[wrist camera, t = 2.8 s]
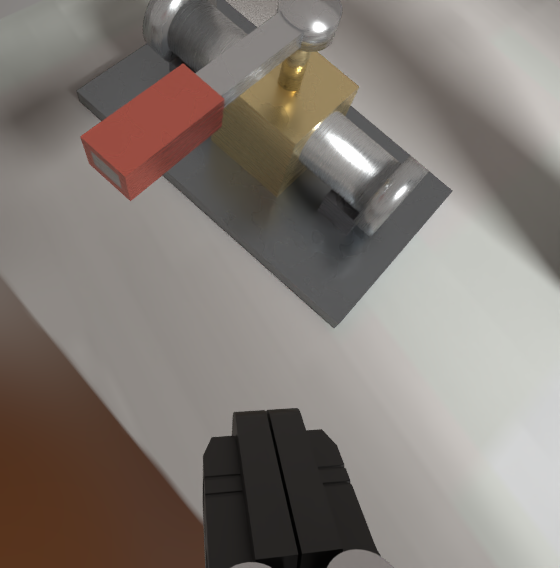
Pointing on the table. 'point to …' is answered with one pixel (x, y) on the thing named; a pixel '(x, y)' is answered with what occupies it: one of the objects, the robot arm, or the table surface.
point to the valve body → (284, 159)
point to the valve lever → (200, 97)
